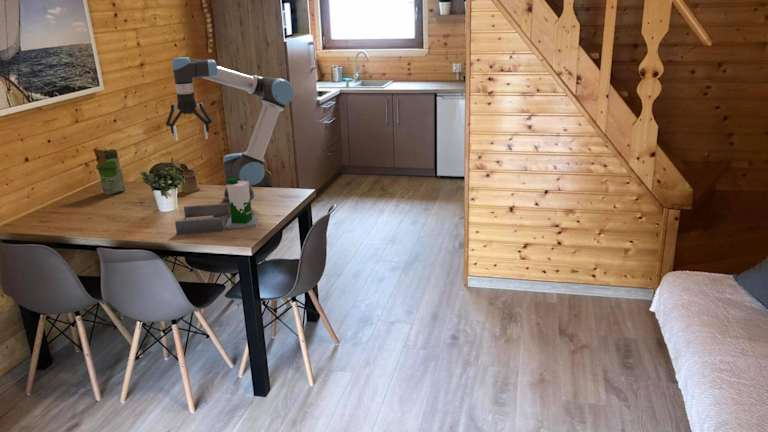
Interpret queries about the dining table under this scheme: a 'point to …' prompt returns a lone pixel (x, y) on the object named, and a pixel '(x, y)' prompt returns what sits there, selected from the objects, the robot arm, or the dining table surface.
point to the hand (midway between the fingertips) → (191, 139)
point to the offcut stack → (199, 217)
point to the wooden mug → (187, 178)
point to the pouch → (109, 170)
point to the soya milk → (239, 200)
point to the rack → (203, 224)
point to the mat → (248, 224)
